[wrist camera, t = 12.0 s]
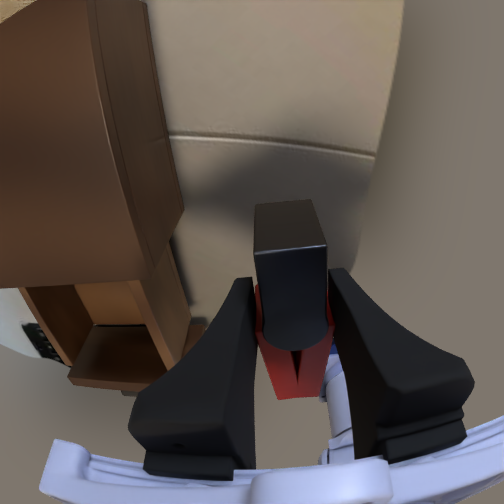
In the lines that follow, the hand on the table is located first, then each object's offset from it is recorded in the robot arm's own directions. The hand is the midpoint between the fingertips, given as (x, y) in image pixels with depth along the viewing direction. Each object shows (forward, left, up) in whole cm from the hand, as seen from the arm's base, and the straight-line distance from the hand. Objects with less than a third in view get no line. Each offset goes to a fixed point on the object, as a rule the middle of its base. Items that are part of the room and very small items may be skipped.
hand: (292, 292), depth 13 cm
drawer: (-7, +13, -9) cm, 17 cm away
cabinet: (+7, +13, -10) cm, 18 cm away
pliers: (-1, 0, -1) cm, 2 cm away
